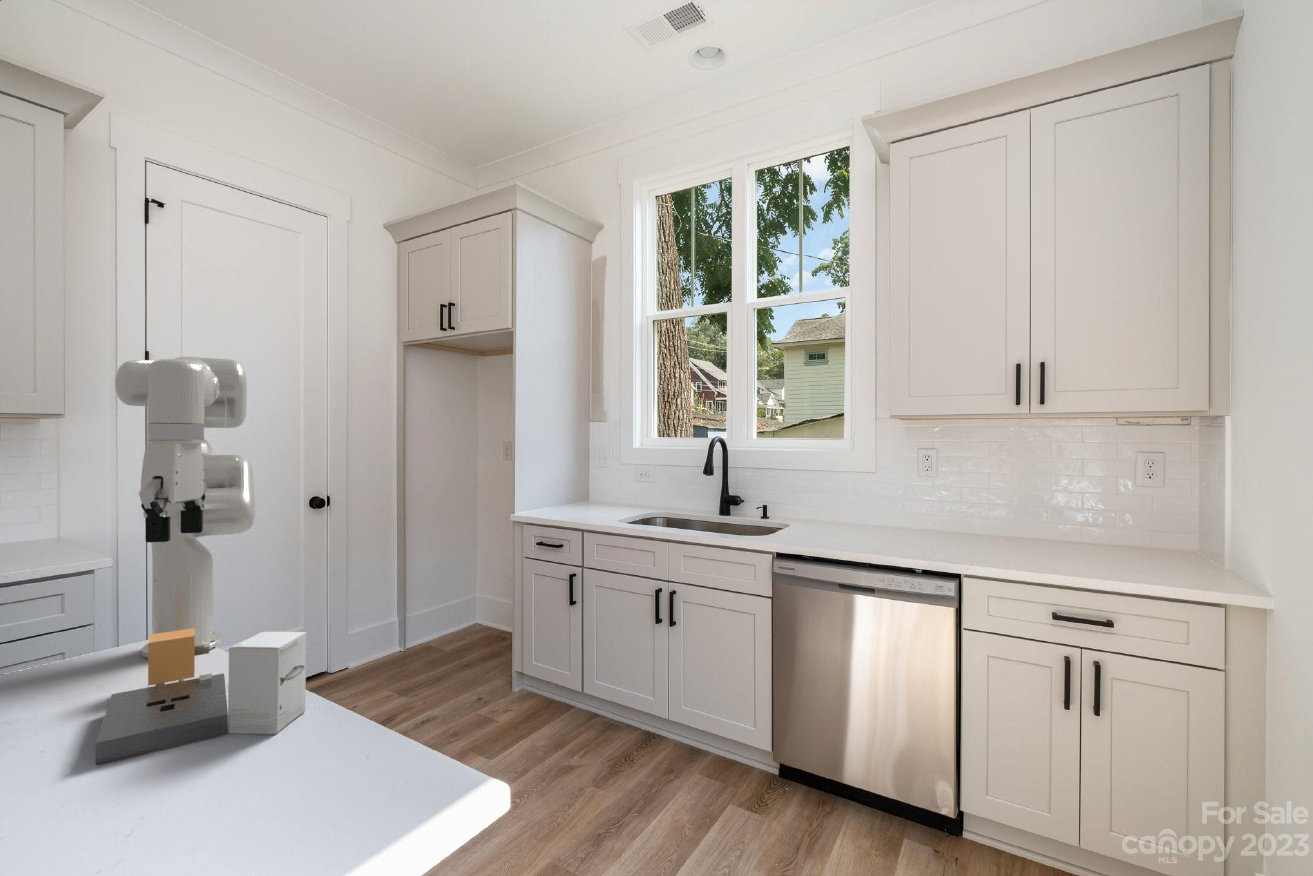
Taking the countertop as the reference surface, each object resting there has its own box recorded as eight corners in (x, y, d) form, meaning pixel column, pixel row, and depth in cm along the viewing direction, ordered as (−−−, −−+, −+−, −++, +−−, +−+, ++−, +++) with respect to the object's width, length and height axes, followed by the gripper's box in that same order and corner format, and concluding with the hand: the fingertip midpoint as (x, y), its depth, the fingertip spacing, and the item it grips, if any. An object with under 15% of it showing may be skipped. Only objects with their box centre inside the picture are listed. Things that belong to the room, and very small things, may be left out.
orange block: (208, 675, 108) (208, 626, 108) (208, 685, 104) (209, 633, 104) (150, 686, 103) (150, 634, 103) (148, 696, 99) (148, 643, 99)
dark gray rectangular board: (111, 713, 93) (112, 689, 93) (224, 691, 102) (224, 668, 101) (95, 766, 79) (95, 736, 79) (227, 734, 87) (227, 708, 87)
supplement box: (276, 735, 87) (277, 647, 87) (225, 734, 87) (226, 646, 87) (307, 712, 95) (308, 631, 94) (260, 711, 95) (260, 630, 95)
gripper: (180, 435, 110) (179, 530, 110) (115, 434, 93) (114, 546, 93) (226, 435, 111) (226, 529, 111) (171, 434, 94) (170, 545, 94)
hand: (175, 537), depth 102 cm, fingers open, 9 cm apart
